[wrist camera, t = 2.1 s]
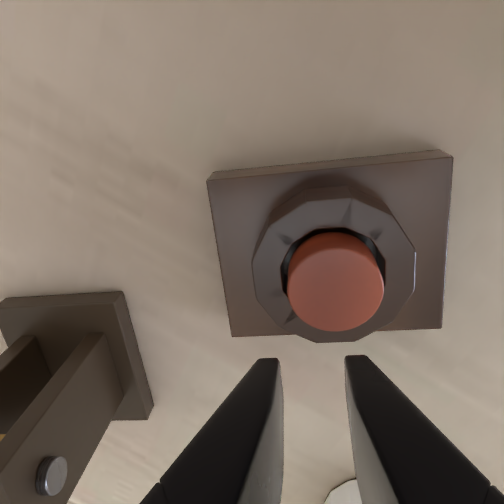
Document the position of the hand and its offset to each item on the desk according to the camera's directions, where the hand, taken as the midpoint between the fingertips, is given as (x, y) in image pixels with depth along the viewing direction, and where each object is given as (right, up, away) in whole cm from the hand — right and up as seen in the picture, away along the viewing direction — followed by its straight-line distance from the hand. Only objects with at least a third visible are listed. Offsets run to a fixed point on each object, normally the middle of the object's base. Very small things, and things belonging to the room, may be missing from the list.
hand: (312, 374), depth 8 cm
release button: (+2, +2, +9) cm, 9 cm away
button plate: (+2, +3, +12) cm, 12 cm away
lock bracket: (-11, -3, +16) cm, 20 cm away
